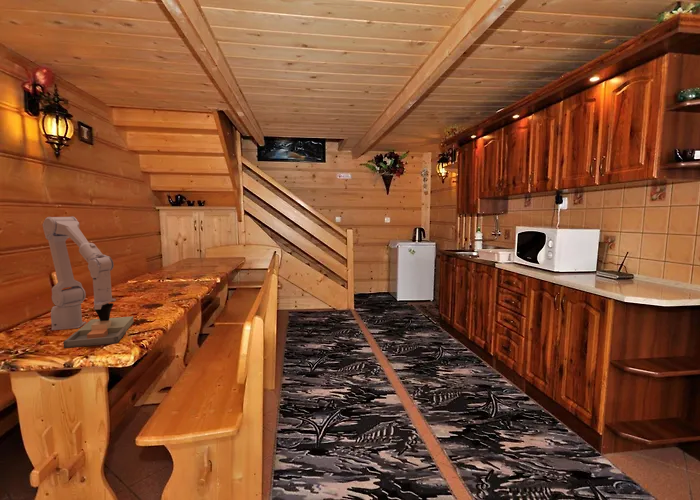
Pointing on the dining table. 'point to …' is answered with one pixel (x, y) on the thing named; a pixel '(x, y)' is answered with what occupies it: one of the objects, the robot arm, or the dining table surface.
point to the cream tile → (101, 325)
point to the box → (93, 339)
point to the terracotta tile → (97, 333)
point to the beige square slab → (114, 328)
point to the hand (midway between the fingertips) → (104, 323)
